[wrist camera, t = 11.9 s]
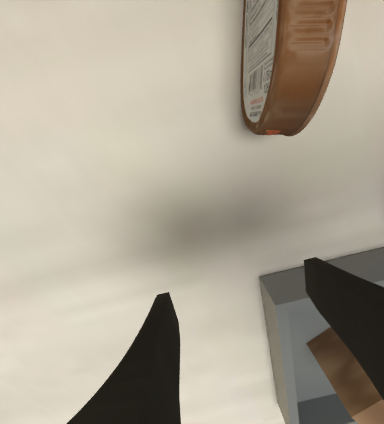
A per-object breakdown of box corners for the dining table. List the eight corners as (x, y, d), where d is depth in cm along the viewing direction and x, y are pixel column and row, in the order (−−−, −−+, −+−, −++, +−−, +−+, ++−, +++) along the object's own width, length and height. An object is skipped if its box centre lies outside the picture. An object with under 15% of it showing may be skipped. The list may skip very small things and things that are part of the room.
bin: (386, 246, 23) (427, 269, 20) (375, 379, 30) (404, 415, 27) (259, 276, 24) (275, 305, 20) (277, 402, 31) (292, 441, 27)
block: (336, 322, 25) (394, 392, 19) (354, 341, 26) (414, 413, 20) (306, 343, 26) (351, 417, 19) (324, 360, 27) (373, 436, 20)
